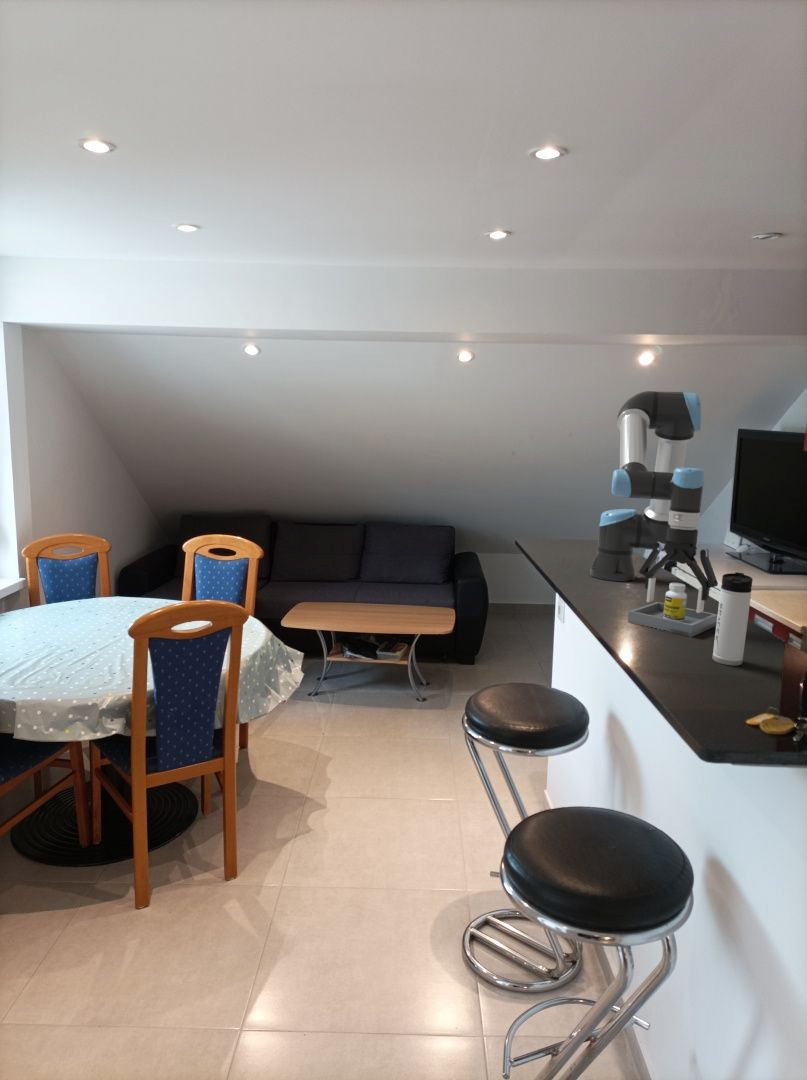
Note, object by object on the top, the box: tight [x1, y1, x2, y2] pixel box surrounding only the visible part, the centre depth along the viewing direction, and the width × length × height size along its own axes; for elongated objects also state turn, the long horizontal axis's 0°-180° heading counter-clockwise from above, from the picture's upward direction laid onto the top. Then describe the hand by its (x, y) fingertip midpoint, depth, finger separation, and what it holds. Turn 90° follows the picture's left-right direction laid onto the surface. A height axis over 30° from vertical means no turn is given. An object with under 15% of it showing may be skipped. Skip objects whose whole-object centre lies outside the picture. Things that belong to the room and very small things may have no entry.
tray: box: [627, 601, 718, 638], centre depth 199 cm, size 17×17×3 cm
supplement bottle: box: [663, 582, 688, 622], centre depth 198 cm, size 5×5×10 cm
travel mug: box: [712, 571, 753, 667], centre depth 168 cm, size 6×7×20 cm
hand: (674, 606), depth 198 cm, fingers open, 13 cm apart
